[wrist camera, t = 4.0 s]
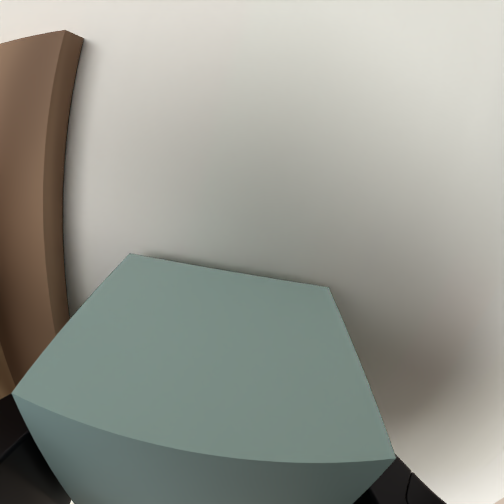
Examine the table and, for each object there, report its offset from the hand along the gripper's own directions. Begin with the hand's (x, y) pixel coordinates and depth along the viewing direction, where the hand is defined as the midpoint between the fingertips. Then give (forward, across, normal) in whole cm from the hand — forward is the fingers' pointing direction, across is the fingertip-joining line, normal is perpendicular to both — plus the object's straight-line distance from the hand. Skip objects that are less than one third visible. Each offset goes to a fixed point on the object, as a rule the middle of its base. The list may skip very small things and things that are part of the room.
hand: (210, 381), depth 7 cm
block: (+1, 0, 0) cm, 1 cm away
